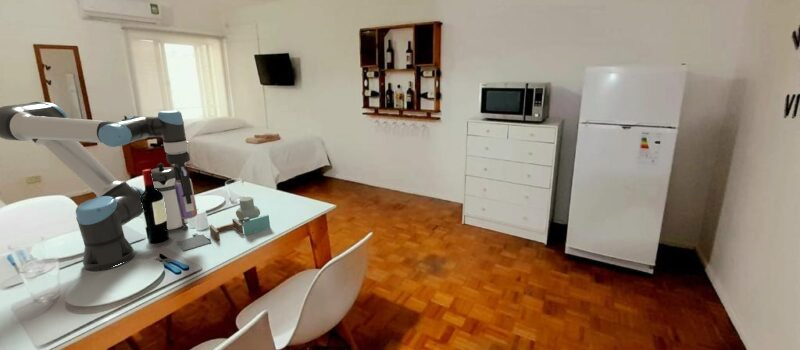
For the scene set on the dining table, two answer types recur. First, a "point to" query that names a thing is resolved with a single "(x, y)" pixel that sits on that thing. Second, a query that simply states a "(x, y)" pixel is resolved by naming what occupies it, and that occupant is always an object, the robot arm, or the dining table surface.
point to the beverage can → (181, 201)
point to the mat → (193, 242)
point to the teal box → (255, 224)
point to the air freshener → (247, 209)
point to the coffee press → (168, 195)
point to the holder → (225, 228)
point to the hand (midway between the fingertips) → (187, 208)
